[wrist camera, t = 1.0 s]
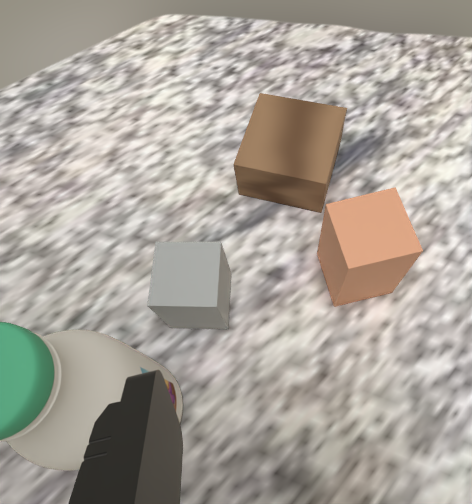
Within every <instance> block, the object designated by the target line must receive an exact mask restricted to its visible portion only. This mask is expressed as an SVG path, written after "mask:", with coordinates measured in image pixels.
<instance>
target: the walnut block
mask: <svg viewBox="0 0 472 504" xmlns="http://www.w3.org/2000/svg"><path fill="white" fill-rule="evenodd" d="M346 111H347V108H343V107H337V106H332V105H326V104H320V103H314V102H309V101H303V100H297V99H291V98H285V97H280V96H274V95H268V94H262V93H260V94H259V97H258V100H257V102H256V105H255V108H254V110H253V113H252V116H251V119H250V121H249V124H248V127H247V129H246V132H245V135H244V137H243V140H242V143H241V146H240V148H239V151H238V154H237V156H236V159H235V162H234V170H235V175H236V180H237V186H238V191H239V194H240V195H245V196H249V197H254V198H258V199H262V200H267V201H271V202H276V203H280V204H285V205H289V206H294V207H298V208H302V209H307V210H311V211H316V212H320V213H321V212H322V209H323V205H324V201H325V198H326V194H327V190H328V186H329V183H330V179H331V175H332V172H333V168H334V164H335V161H336V157H337V153H338V150H339V146H340V142H341V137H342V132H343V126H344V121H345V116H346Z"/></svg>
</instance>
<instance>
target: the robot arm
mask: <svg viewBox="0 0 472 504" xmlns="http://www.w3.org/2000/svg"><path fill="white" fill-rule="evenodd" d="M182 454H183V440H182V432H181V427H180V423H179V419H178V416H177V414H176V411H175V408H174V405H173V402H172V400H171V397H170V394H169V391H168V388H167V386H166V383H165V380H164V377H163V375H162V373H161V371H160V370H154V371H150V372H146V373H142V374H138V375H134V376H130V377H127V379H126V382H125V385H124V389H123V393H122V397H121V401H119V402H115V403H111V404H108V406H107V407H106V408H105V410H104V411H103V412H102V413H101V415H100V416H99V417H98V419H97V420H96V421H95V423H94V426H93V429H92V432H91V435H90V438H89V445H87V448H86V451H85V454H84V457H83V458H84V461H83V462H82V463H81V466H80V470H79V473H78V476H77V479H76V482H75V485H74V488H73V491H72V494H71V497H70V501H69V504H180V491H181V473H182Z"/></svg>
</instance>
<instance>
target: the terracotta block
mask: <svg viewBox="0 0 472 504" xmlns="http://www.w3.org/2000/svg"><path fill="white" fill-rule="evenodd" d="M422 252H423V250H422V248H421V245H420V243H419V241H418V238H417V236H416V234H415V231H414V229H413V227H412V225H411V222H410V220H409V218H408V215H407V213H406V211H405V208H404V206H403V204H402V201H401V199H400V197H399V195H398V192H397V190H396V188H391V189H387V190H383V191H379V192H375V193H370V194H366V195H362V196H358V197H354V198H350V199H346V200H342V201H337V202H333V203H329V204H326V207H325V212H324V218H323V223H322V229H321V235H320V240H319V246H318V251H317V255H318V258H319V261H320V265H321V268H322V271H323V274H324V277H325V280H326V283H327V286H328V289H329V292H330V295H331V299H332V302H333V305H334V307H335V306H339V305H344V304H348V303H352V302H356V301H360V300H364V299H368V298H373V297H377V296H381V295H385V294H389V293H392V292H393V291H394V289H395V288H396V287H397V285H398V284H399V283H400V281H401V280H402V279H403V277H404V276H405V274H406V273H407V272H408V270H409V269H410V268H411V266H412V265H413V264H414V262H415V261H416V260H417V258H418V257H419V256H420V254H421V253H422Z"/></svg>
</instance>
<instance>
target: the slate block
mask: <svg viewBox="0 0 472 504" xmlns="http://www.w3.org/2000/svg"><path fill="white" fill-rule="evenodd" d="M230 290H231V271H230V268H229V265H228V262H227V259H226V256H225V253H224V250H223V246H222V243H221V242H156V243H155V251H154V259H153V267H152V274H151V282H150V290H149V298H148V307H149V308H150V309H151V310H152V311H153V312H155V313H156V314H157V315H158V316H159V317H160V318H161V319H162V320H163V321H164V322H165V323H166V324H167V325H168V326H169V327H170V328H187V329H228V327H229V308H230Z"/></svg>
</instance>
